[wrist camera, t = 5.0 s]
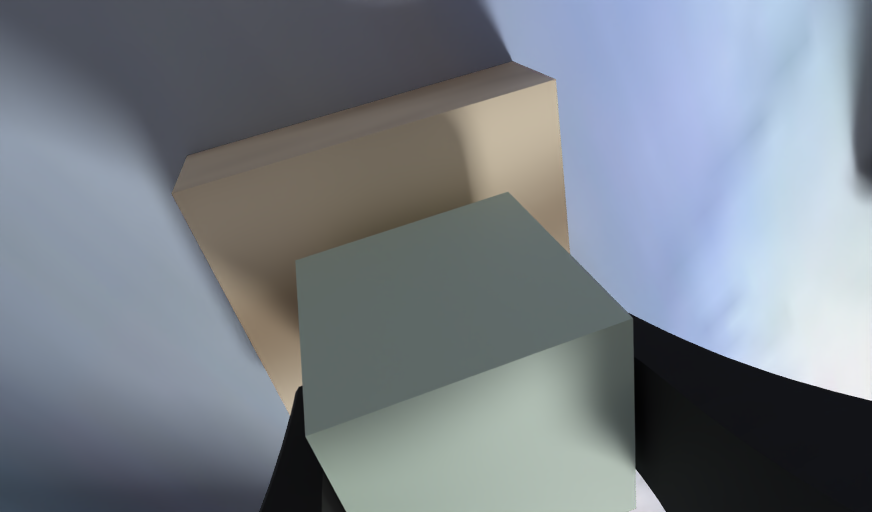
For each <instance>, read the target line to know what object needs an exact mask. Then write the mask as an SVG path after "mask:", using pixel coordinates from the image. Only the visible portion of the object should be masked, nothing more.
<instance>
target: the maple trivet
mask: <svg viewBox="0 0 872 512" xmlns="http://www.w3.org/2000/svg"><path fill="white" fill-rule="evenodd" d="M505 192H509V193H510V194H511V195H512V196H513V197H514V198H515V199H516V200H517V201H518V202H519V203H520V204H521V205H522V206H523V207H524V208H525V209H526V210H527V211H528V212H529V213H530V214H531V215H532V216H533V217H534V218H535V219H536V220H537V221H538V222H539V223H540V224H541V225H542V226H543V227H544V228H545V230H546V231H547V232H548V233H549V234H550V235H551V236H552V237H553V238H554V239H555V240H556V241H557V242H558V243H559V244H560V245H561V246H562V247H563V248H564V249H565V250H566V251H567V252H568V253H569V254H570V248H569V236H568V224H567V211H566V199H565V187H564V175H563V162H562V150H561V138H560V126H559V113H558V101H557V89H556V79H554V78H551V77H549V76H547V75H544V74H542V73H540V72H537V71H535V70H532V69H530V68H528V67H525V66H523V65H520V64H518V63H516V62H513V61H511V62H508V63H505V64H501V65H498V66H494V67H491V68H487V69H484V70H480V71H477V72H474V73H470V74H467V75H463V76H460V77H456V78H453V79H449V80H446V81H443V82H439V83H436V84H432V85H429V86H425V87H422V88H418V89H415V90H412V91H408V92H405V93H401V94H398V95H394V96H391V97H387V98H384V99H381V100H377V101H374V102H370V103H367V104H363V105H360V106H356V107H353V108H350V109H346V110H343V111H339V112H336V113H332V114H329V115H325V116H322V117H319V118H315V119H312V120H308V121H305V122H301V123H298V124H294V125H291V126H287V127H284V128H281V129H277V130H274V131H270V132H267V133H263V134H260V135H256V136H253V137H250V138H246V139H243V140H239V141H236V142H232V143H229V144H225V145H222V146H219V147H215V148H212V149H208V150H205V151H201V152H198V153H194V154H191V155H188V156H187V157H186V160H185V162H184V165H183V167H182V169H181V172H180V174H179V177H178V179H177V181H176V184H175V186H174V189H173V191H172V193H171V194H172V196H173V197H174V199H175V201H176V203H177V205H178V207H179V209H180V211H181V212H182V214H183V216H184V218H185V220H186V222H187V224H188V226H189V227H190V229H191V231H192V233H193V235H194V237H195V239H196V240H197V242H198V244H199V246H200V248H201V250H202V252H203V254H204V255H205V257H206V259H207V261H208V263H209V265H210V267H211V269H212V270H213V272H214V274H215V276H216V278H217V280H218V282H219V283H220V285H221V287H222V289H223V291H224V293H225V295H226V297H227V298H228V300H229V302H230V304H231V306H232V308H233V310H234V312H235V313H236V315H237V317H238V319H239V321H240V323H241V325H242V326H243V328H244V330H245V332H246V334H247V336H248V338H249V340H250V341H251V343H252V345H253V347H254V349H255V351H256V353H257V355H258V356H259V358H260V360H261V362H262V364H263V366H264V368H265V369H266V371H267V373H268V375H269V377H270V379H271V381H272V383H273V384H274V386H275V388H276V390H277V392H278V394H279V396H280V398H281V399H282V401H283V403H284V405H285V407H286V409H287V411H288V412H289V414H291V410H292V406H293V401H294V397H295V392H296V391H297V389H298V387H300V386H302V369H301V351H300V334H299V316H298V299H297V282H296V264H295V260H298V259H301V258H304V257H307V256H310V255H314V254H317V253H320V252H323V251H326V250H329V249H332V248H335V247H338V246H341V245H344V244H348V243H351V242H354V241H357V240H360V239H363V238H366V237H369V236H372V235H375V234H379V233H382V232H385V231H388V230H391V229H394V228H397V227H400V226H403V225H406V224H409V223H413V222H416V221H419V220H422V219H425V218H428V217H431V216H434V215H437V214H440V213H443V212H447V211H450V210H453V209H456V208H459V207H462V206H465V205H468V204H471V203H474V202H477V201H481V200H484V199H487V198H490V197H493V196H496V195H499V194H502V193H505Z"/></svg>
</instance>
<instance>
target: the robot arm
mask: <svg viewBox="0 0 872 512" xmlns="http://www.w3.org/2000/svg"><path fill="white" fill-rule="evenodd" d="M629 315H630V316H631V317H632V318H633V346H634V408H635V469H636V470H637V471H638V472H639V474H640V475H641V476H642V478H643V479H644V480H645V482H646V483H647V484H648V486H649V487H650V489H651V490H652V491H653V493H654V494H655V496H656V497H657V499H658V500H659V502H660V503H661V505H662V506H663V508H664V509H665V511H666V512H872V401H870V400H866V399H862V398H858V397H854V396H850V395H846V394H842V393H838V392H834V391H830V390H827V389H823V388H820V387H816V386H813V385H809V384H806V383H802V382H798V381H795V380H792V379H788V378H785V377H782V376H779V375H776V374H773V373H769V372H767V371H764V370H761V369H758V368H755V367H752V366H750V365H747V364H744V363H741V362H738V361H735V360H733V359H730V358H727V357H725V356H722V355H720V354H717V353H715V352H712V351H710V350H707V349H705V348H703V347H700V346H698V345H696V344H693V343H691V342H688V341H686V340H684V339H682V338H679V337H677V336H675V335H673V334H671V333H668V332H666V331H664V330H662V329H660V328H658V327H656V326H654V325H652V324H650V323H648V322H646V321H644V320H642V319H640V318H638V317H636V316H634V315H632V314H630V313H629ZM259 512H346V511H345V509H344V507H343V505H342V503H341V501H340V499H339V498H338V496H337V494H336V492H335V490H334V488H333V487H332V485H331V483H330V481H329V479H328V477H327V475H326V474H325V472H324V470H323V468H322V466H321V464H320V463H319V461H318V459H317V457H316V455H315V453H314V451H313V450H312V448H311V446H310V444H309V442H308V440H307V439H306V437H305V421H304V404H303V386H300V387H298V389H297V391H296V392H295V397H294V401H293V406H292V410H291V414H290V418H289V422H288V426H287V429H286V433H285V436H284V440H283V443H282V447H281V450H280V453H279V456H278V459H277V463H276V466H275V469H274V472H273V475H272V478H271V481H270V484H269V487H268V490H267V492H266V495H265V498H264V500H263V503H262V505H261V508H260V511H259Z"/></svg>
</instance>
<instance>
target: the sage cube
mask: <svg viewBox="0 0 872 512" xmlns="http://www.w3.org/2000/svg"><path fill="white" fill-rule="evenodd" d="M295 264H296V282H297V299H298V316H299V334H300V351H301V369H302V386H303V404H304V421H305V437H306V439H307V440H308V442H309V444H310V446H311V448H312V450H313V451H314V453H315V455H316V457H317V459H318V461H319V463H320V464H321V466H322V468H323V470H324V472H325V474H326V475H327V477H328V479H329V481H330V483H331V485H332V487H333V488H334V490H335V492H336V494H337V496H338V498H339V499H340V501H341V503H342V505H343V507H344V509H345V511H346V512H629V511H631V510H634V509H636V470H635V408H634V346H633V318H632V317H631V316H630V315H629V313H628V312H627V311H626V310H625V309H624V308H623V307H622V306H621V305H620V304H619V303H618V302H617V301H616V300H615V299H614V298H613V297H612V296H611V295H610V294H609V293H608V292H607V291H606V290H605V289H604V288H603V287H602V286H601V285H600V284H599V283H598V282H597V281H596V280H595V279H594V278H593V277H592V276H591V275H590V274H589V273H588V272H587V271H586V270H585V269H584V268H583V267H582V266H581V265H580V264H579V263H578V262H577V261H576V260H575V259H574V258H573V257H572V256H571V255H570V254H569V253H568V252H567V251H566V250H565V249H564V248H563V247H562V246H561V245H560V244H559V243H558V242H557V241H556V240H555V239H554V238H553V237H552V236H551V235H550V234H549V233H548V232H547V231H546V230H545V228H544V227H543V226H542V225H541V224H540V223H539V222H538V221H537V220H536V219H535V218H534V217H533V216H532V215H531V214H530V213H529V212H528V211H527V210H526V209H525V208H524V207H523V206H522V205H521V204H520V203H519V202H518V201H517V200H516V199H515V198H514V197H513V196H512V195H511V194H510V193H509V192H505V193H502V194H499V195H496V196H493V197H490V198H487V199H484V200H481V201H477V202H474V203H471V204H468V205H465V206H462V207H459V208H456V209H453V210H450V211H447V212H443V213H440V214H437V215H434V216H431V217H428V218H425V219H422V220H419V221H416V222H413V223H409V224H406V225H403V226H400V227H397V228H394V229H391V230H388V231H385V232H382V233H379V234H375V235H372V236H369V237H366V238H363V239H360V240H357V241H354V242H351V243H348V244H344V245H341V246H338V247H335V248H332V249H329V250H326V251H323V252H320V253H317V254H314V255H310V256H307V257H304V258H301V259H298V260H295Z"/></svg>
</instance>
